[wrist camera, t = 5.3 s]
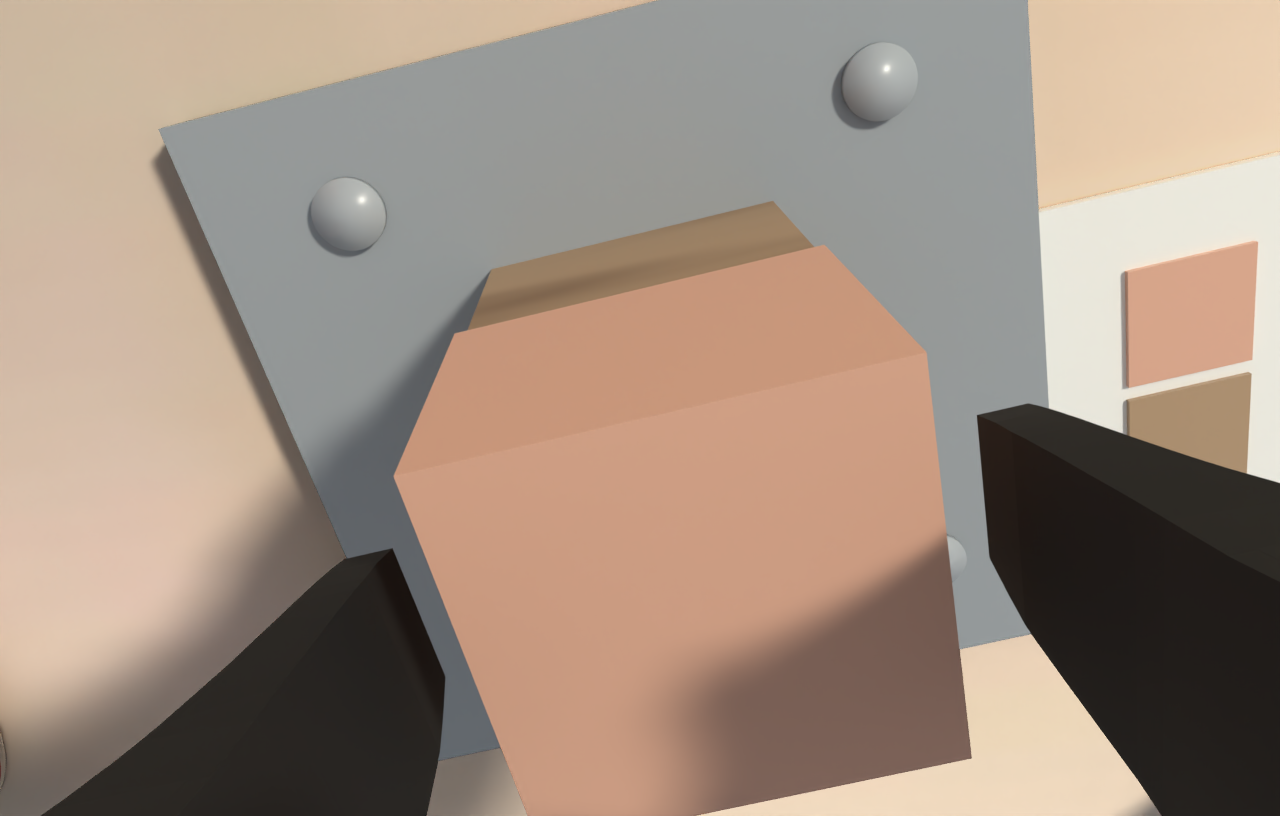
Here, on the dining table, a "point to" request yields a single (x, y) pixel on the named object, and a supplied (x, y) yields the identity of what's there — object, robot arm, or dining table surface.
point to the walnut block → (637, 262)
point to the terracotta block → (695, 542)
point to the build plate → (631, 223)
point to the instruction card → (1171, 312)
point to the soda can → (2, 761)
